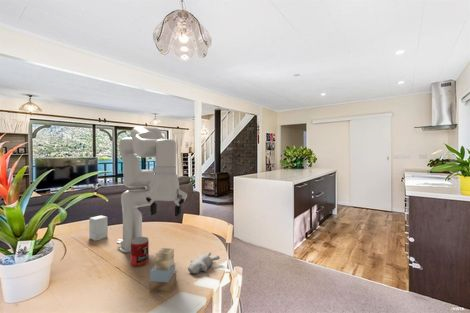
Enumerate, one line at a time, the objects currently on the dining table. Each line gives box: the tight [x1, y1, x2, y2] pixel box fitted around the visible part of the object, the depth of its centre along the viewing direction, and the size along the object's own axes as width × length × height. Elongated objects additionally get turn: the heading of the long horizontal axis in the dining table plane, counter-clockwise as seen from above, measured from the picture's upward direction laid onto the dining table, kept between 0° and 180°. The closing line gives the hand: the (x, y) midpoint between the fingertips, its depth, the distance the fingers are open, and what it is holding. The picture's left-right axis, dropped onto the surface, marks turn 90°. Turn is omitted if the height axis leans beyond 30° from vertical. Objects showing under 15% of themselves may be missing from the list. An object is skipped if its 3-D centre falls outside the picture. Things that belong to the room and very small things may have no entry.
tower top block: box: [149, 262, 176, 283], centre depth 88 cm, size 7×7×4 cm
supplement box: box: [89, 214, 109, 242], centre depth 138 cm, size 7×7×13 cm
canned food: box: [130, 236, 150, 268], centre depth 107 cm, size 8×8×11 cm
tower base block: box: [149, 270, 177, 294], centre depth 88 cm, size 8×8×4 cm
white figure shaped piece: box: [187, 251, 221, 275], centre depth 103 cm, size 10×5×15 cm
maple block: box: [155, 247, 175, 270], centre depth 88 cm, size 5×5×6 cm
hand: (165, 214), depth 88 cm, fingers open, 9 cm apart
